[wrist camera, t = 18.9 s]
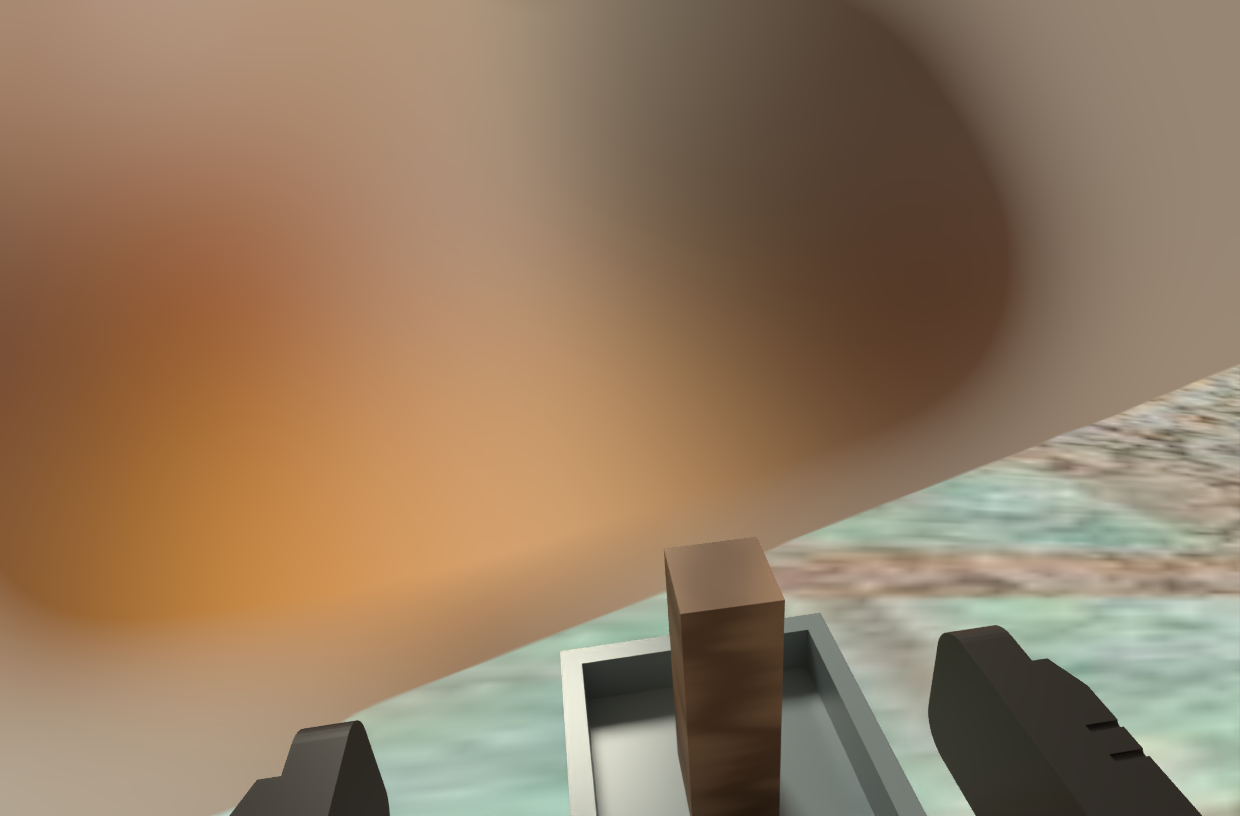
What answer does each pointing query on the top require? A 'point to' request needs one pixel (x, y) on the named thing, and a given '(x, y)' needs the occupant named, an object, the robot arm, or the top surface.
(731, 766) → the walnut block
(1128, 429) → the top surface
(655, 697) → the slate tray
